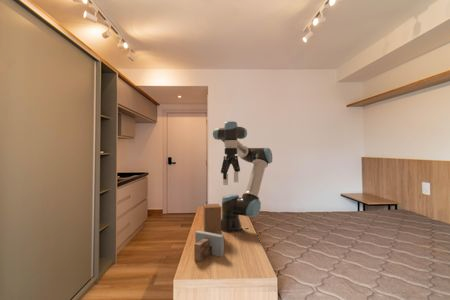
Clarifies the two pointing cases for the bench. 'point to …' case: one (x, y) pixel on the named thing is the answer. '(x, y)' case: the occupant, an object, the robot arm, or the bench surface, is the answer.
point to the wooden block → (212, 218)
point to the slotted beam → (203, 248)
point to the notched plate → (212, 241)
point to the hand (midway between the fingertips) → (231, 183)
